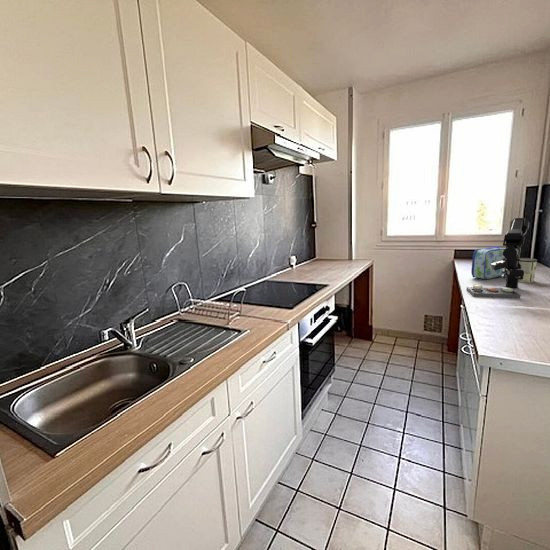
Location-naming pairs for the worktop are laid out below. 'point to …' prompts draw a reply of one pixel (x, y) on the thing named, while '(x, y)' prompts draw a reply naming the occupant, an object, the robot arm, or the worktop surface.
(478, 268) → the lunch box
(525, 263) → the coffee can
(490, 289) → the button terracotta
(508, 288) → the button sage
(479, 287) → the button ivory
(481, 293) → the console
